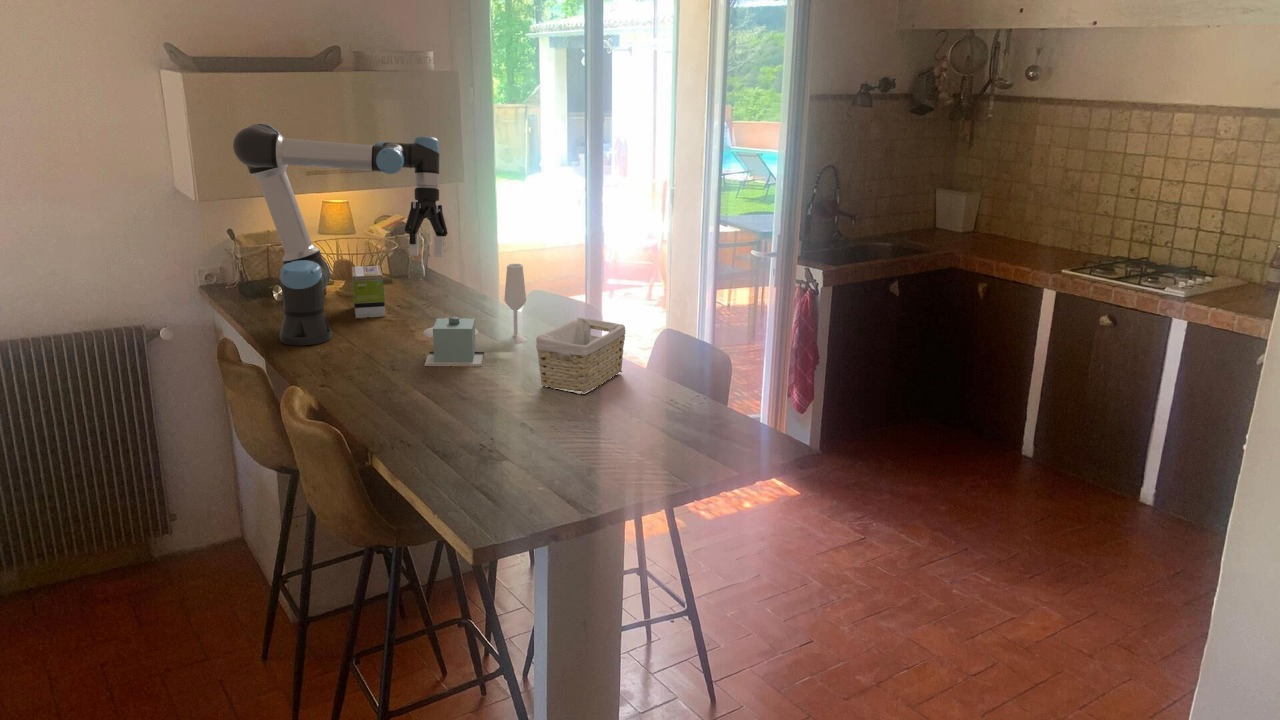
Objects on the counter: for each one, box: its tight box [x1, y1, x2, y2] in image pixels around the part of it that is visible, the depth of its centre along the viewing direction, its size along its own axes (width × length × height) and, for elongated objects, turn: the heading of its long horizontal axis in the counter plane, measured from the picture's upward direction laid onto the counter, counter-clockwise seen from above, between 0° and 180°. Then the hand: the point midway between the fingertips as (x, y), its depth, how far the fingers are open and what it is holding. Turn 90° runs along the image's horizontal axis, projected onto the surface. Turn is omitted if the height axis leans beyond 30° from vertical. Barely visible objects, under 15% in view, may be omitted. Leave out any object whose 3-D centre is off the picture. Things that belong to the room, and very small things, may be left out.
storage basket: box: [535, 317, 626, 393], centre depth 261 cm, size 24×16×15 cm
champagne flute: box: [503, 263, 527, 344], centre depth 294 cm, size 7×7×24 cm
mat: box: [424, 351, 485, 368], centre depth 279 cm, size 16×16×1 cm
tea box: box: [350, 265, 386, 319], centre depth 322 cm, size 15×10×15 cm, turn 18°
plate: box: [422, 326, 479, 340], centre depth 299 cm, size 17×17×5 cm
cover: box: [432, 316, 477, 362], centre depth 276 cm, size 11×11×12 cm
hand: (426, 256), depth 297 cm, fingers open, 13 cm apart
